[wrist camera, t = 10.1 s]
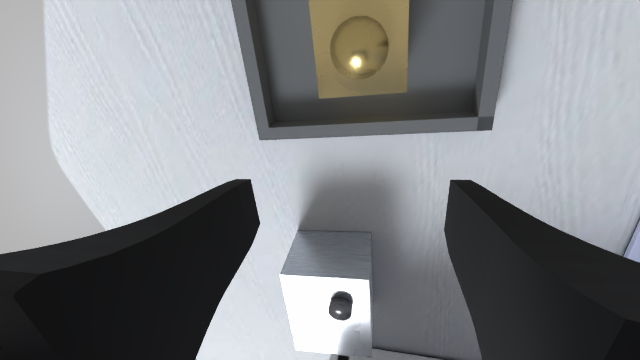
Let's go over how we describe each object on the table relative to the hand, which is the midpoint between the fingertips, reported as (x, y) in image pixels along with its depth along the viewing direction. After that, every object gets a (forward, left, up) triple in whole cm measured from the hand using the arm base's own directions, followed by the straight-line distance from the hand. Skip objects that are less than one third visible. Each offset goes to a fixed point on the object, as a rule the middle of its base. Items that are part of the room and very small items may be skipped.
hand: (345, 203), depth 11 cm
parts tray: (0, -5, -10) cm, 11 cm away
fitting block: (0, -5, -10) cm, 11 cm away
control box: (+3, +13, -10) cm, 16 cm away
